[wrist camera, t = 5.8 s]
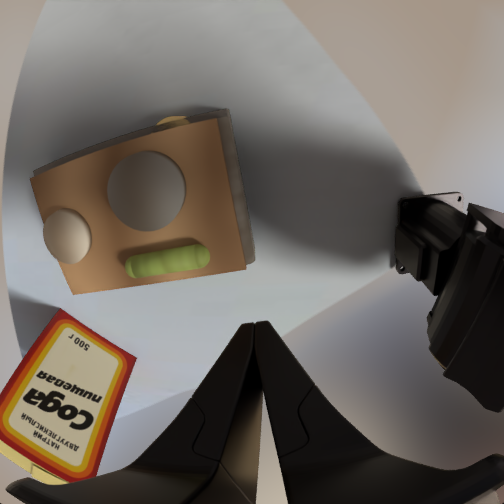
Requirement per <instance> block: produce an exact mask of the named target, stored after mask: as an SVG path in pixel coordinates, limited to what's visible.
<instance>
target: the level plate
mask: <svg viewBox="0 0 504 504" xmlns="http://www.w3.org/2000/svg"><path fill="white" fill-rule="evenodd" d="M30 181H31V185H32V188H33V192H34V195H35V198H36V202H37V205H38V208H39V211H40V214H41V217H42V220H43V223H44V228H43V236H44V241H45V244H46V246H47V248H48V250H49V251H50V253H51V254H52V255H53V256H54V257H55V258H56V259H57V260H58V262H59V265H60V267H61V269H62V272H63V274H64V276H65V278H66V281H67V283H68V285H69V287H70V289H71V292H72V294H73V295H76V294H83V293H90V292H98V291H105V290H112V289H119V288H126V287H133V286H140V285H147V284H154V283H161V282H168V281H174V280H181V279H188V278H194V277H201V276H207V275H214V274H220V273H227V272H233V271H239V270H246V265H248V264H251V263H253V262H254V261H255V254H254V249H253V243H252V238H251V233H250V227H249V222H248V217H247V211H246V206H245V201H244V195H243V190H242V185H241V179H240V174H239V169H238V164H237V158H236V153H235V148H234V142H233V137H232V132H231V127H230V121H229V116H227V117H221V118H215V119H210V120H205V121H201V122H196V123H192V124H188V125H183V126H179V127H175V128H171V129H168V130H164V131H160V132H156V133H153V134H149V135H146V136H142V137H139V138H136V139H132V140H129V141H126V142H123V143H120V144H117V145H114V146H111V147H108V148H105V149H102V150H99V151H96V152H93V153H91V154H88V155H85V156H83V157H80V158H77V159H75V160H72V161H70V162H67V163H65V164H62V165H60V166H57V167H55V168H53V169H50V170H48V171H46V172H43V173H41V174H39V175H37V176H35V177H32V178H30Z"/></svg>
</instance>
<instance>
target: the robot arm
mask: <svg viewBox="0 0 504 504" xmlns="http://www.w3.org/2000/svg"><path fill="white" fill-rule="evenodd" d="M458 196H459V199H458V200H457V198H458ZM405 202H406V205H405V206H404V207H403V204H404V203H405ZM467 211H468V213H467V215H466V214H464V213H463V194H461V193H460V192H449V193H440V194H430V195H421V196H412V197H403V198H401V199H400V200H399V202H398V225H397V226H396V234H395V256H396V270H397V272H398V273H399V274H406V273H411V275H412V276H413V277H414V278H415V279H416V280H417V281H422V282H423V283H424V284H425V286H426V287H427V288H428V289H429V290H430V292H431V293H432V294H433V295H434V296H437V295H438V297H437V299H436V302H435V304H434V306H433V308H432V311H430V312H429V314H428V316H427V322H428V329H427V334H428V337H429V341H430V345H429V350H430V352H431V354H432V355H433V356H434V358H435V359H436V360H437V361H438V363H439V364H440V365H441V367H442V368H443V369H444V370H445V371H444V373H443V375H444V376H445V377H446V378H448V379H450V380H453V381H455V382H457V383H458V384H460V385H461V386H463V387H464V388H465V389H467V390H468V391H469V392H470V393H471V394H472V395H473V396H474V397H475V398H476V399H477V400H478V401H479V403H480V404H481V405H482V406H483V407H484V408H485V409H488V410H491V411H494V412H501V411H502V410H503V409H504V213H501V212H498V211H494V210H492V209H488V208H485V207H482V206H479V205H475V204H472V203H469V204H468V208H467ZM402 266H403V268H402V269H400V268H401V267H402ZM263 392H264V396H265V401H266V406H267V410H268V415H269V419H270V424H271V428H272V433H273V437H274V442H275V446H276V450H277V455H278V459H279V463H280V468H281V472H282V477H283V482H284V486H285V491H286V496H287V500H288V504H500V501H499V499H498V496H497V493H496V490H497V489H498V488H500V487H501V486H502V485H504V456H503V455H500V454H492V455H490V456H488V457H486V458H484V459H482V460H480V461H478V462H477V463H475V464H473V465H471V466H469V467H466V468H463V469H458V470H444V469H438V468H434V467H430V466H427V465H423V464H420V463H416V462H413V461H410V460H406V459H403V458H400V457H397V456H394V455H391V454H389V453H386V452H384V451H383V450H381V449H379V448H378V447H377V446H375V445H374V444H373V443H372V442H371V441H370V440H368V439H367V438H366V437H365V436H364V435H363V434H362V433H361V432H360V431H358V430H357V429H356V428H355V427H354V426H353V425H352V424H351V423H350V422H349V421H348V420H346V418H344V417H343V416H342V415H341V414H340V413H339V412H338V411H337V410H336V409H335V407H334V406H333V405H332V404H331V403H330V402H329V401H328V400H327V398H326V397H325V396H324V395H323V394H322V392H321V391H320V390H319V388H318V387H317V386H316V385H315V383H314V382H313V380H312V379H311V378H310V376H309V375H308V374H307V372H306V371H305V370H304V368H303V367H302V366H301V364H300V363H299V362H298V360H297V359H296V358H295V356H294V355H293V354H292V352H291V351H290V350H289V348H288V347H287V345H286V344H285V343H284V341H283V340H282V339H281V337H280V336H279V334H278V333H277V332H276V330H275V329H274V328H273V326H272V325H271V323H270V322H269V321H259V322H256V323H253V322H252V323H244V324H242V325H241V326H240V327H239V329H238V330H237V331H236V333H235V334H234V336H233V337H232V339H231V340H230V342H229V343H228V345H227V346H226V348H225V349H224V351H223V352H222V353H221V355H220V356H219V358H218V359H217V361H216V362H215V364H214V365H213V367H212V368H211V369H210V371H209V372H208V374H207V375H206V377H205V378H204V379H203V381H202V382H201V384H200V385H199V387H198V388H197V389H196V391H195V392H194V394H193V395H192V398H190V399H189V401H188V402H187V403H186V405H185V406H184V408H183V409H182V410H181V411H180V413H179V414H178V415H177V417H176V418H175V419H174V420H173V421H172V423H171V424H170V425H169V426H168V427H167V428H166V429H165V430H164V431H163V433H162V434H161V435H160V436H159V437H158V438H157V439H156V440H155V441H154V442H153V443H152V444H151V445H150V446H149V447H148V448H147V449H146V450H145V451H144V452H143V453H142V454H141V456H139V457H138V458H137V459H136V460H135V461H134V462H132V463H131V464H130V465H128V466H127V467H125V468H123V469H121V470H117V471H114V472H111V473H107V474H104V475H100V476H96V477H93V478H89V479H85V480H80V481H76V482H72V483H67V484H61V485H50V484H45V483H41V482H39V481H37V480H34V479H32V478H28V477H27V478H24V479H20V480H17V481H14V482H13V483H11V484H10V485H8V486H7V488H6V491H7V492H8V493H10V494H11V495H13V496H14V497H16V498H17V499H19V500H20V501H22V502H23V503H25V504H256V493H257V479H258V466H259V452H260V436H261V420H262V404H263ZM0 504H1V503H0ZM503 504H504V503H503Z"/></svg>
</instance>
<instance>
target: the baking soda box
mask: <svg viewBox="0 0 504 504" xmlns="http://www.w3.org/2000/svg"><path fill="white" fill-rule="evenodd" d="M136 359H137V358H136V357H135V356H133V355H131V354H129V353H128V352H126V351H124V350H123V349H121V348H119V347H118V346H116V345H114V344H113V343H111V342H110V341H108V340H106V339H105V338H103V337H102V336H100V335H99V334H97V333H96V332H94V331H93V330H91V329H89V328H88V327H87V326H85V325H84V324H82V323H81V322H79V321H78V320H76V319H75V318H73V317H72V316H71V315H69V314H68V313H66V312H65V311H64V310H62V309H61V308H60V309H59V311H58V312H57V313H56V314H55V316H54V317H53V318H52V320H51V321H50V322H49V324H48V325H47V326H46V328H45V329H44V330H43V332H42V333H41V334H40V336H39V337H38V338H37V340H36V341H35V343H34V344H33V345H32V347H31V348H30V350H29V351H28V352H27V354H26V355H25V357H24V358H23V360H22V361H21V363H20V364H19V366H18V367H17V369H16V370H15V372H14V373H13V375H12V376H11V378H10V379H9V381H8V383H7V384H6V386H5V387H4V389H3V391H2V392H1V394H0V453H2V454H3V455H4V456H6V457H7V458H8V459H10V460H11V461H13V462H14V463H16V464H17V465H19V466H20V467H22V468H23V469H25V470H26V471H28V472H30V473H31V474H32V477H34V478H36V479H37V480H40V481H41V482H43V483H45V484H50V485H61V484H67V483H72V482H76V481H80V480H85V479H89V478H93V477H96V475H97V472H98V468H99V465H100V462H101V458H102V455H103V452H104V449H105V446H106V443H107V440H108V437H109V434H110V431H111V427H112V425H113V422H114V419H115V416H116V413H117V410H118V408H119V405H120V402H121V399H122V396H123V394H124V391H125V388H126V386H127V383H128V380H129V378H130V375H131V372H132V370H133V367H134V364H135V362H136Z"/></svg>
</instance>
